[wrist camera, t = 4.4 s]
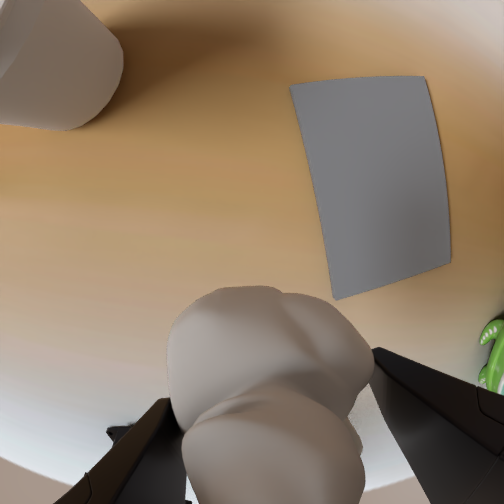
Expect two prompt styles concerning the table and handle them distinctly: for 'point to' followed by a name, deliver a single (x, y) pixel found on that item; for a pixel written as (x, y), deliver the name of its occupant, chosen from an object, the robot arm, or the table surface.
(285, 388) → the off-white lumpy chunk
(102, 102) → the can
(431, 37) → the table surface
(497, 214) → the table surface
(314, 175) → the grey mat
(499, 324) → the turtle holder
